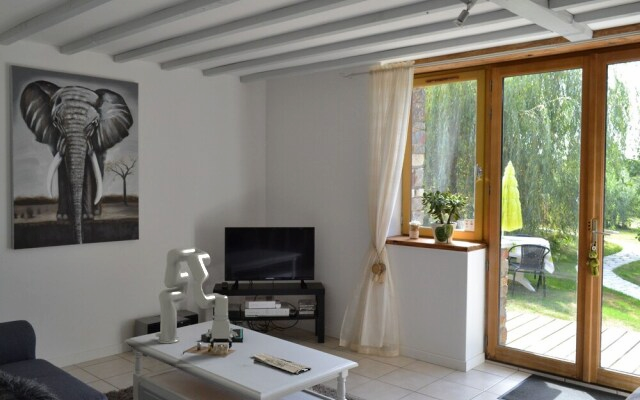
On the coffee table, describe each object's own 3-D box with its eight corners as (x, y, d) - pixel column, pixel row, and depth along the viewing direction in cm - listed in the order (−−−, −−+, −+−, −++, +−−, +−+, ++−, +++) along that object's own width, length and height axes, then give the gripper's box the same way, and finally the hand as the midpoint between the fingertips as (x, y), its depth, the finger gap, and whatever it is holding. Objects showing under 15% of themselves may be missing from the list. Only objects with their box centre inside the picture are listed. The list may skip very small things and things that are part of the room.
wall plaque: (190, 340, 354) (224, 350, 336) (190, 334, 354) (224, 343, 336) (226, 331, 378) (259, 339, 360) (226, 325, 378) (259, 333, 360)
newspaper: (311, 370, 303) (311, 364, 303) (294, 376, 294) (295, 369, 294) (264, 356, 327) (265, 350, 326) (248, 361, 317) (248, 354, 317)
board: (182, 354, 326) (183, 345, 326) (196, 347, 339) (196, 338, 339) (224, 360, 317) (224, 350, 317) (236, 352, 330) (236, 343, 330)
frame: (213, 354, 322) (213, 347, 322) (215, 350, 329) (215, 343, 329) (226, 354, 322) (226, 347, 322) (227, 350, 329) (227, 343, 329)
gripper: (204, 319, 321) (204, 349, 321) (235, 319, 321) (235, 349, 322) (207, 316, 329) (207, 346, 329) (237, 316, 329) (237, 346, 329)
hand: (221, 348), depth 325 cm, fingers open, 9 cm apart
